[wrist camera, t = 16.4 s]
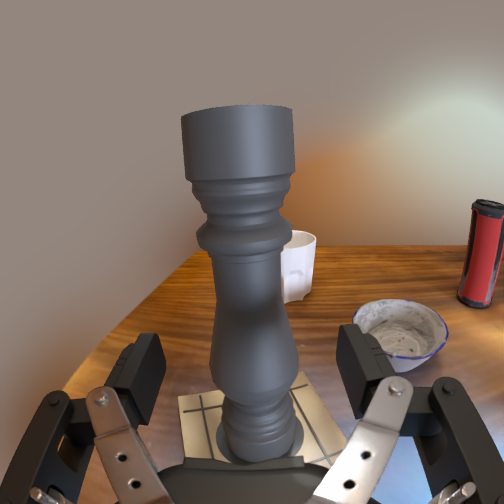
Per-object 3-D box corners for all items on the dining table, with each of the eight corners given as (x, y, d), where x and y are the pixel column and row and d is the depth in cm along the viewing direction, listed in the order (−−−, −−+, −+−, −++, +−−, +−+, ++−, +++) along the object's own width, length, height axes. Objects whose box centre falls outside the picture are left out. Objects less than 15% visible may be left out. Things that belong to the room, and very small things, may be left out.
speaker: (451, 288, 45) (466, 196, 39) (482, 290, 43) (498, 200, 37) (462, 309, 39) (482, 205, 32) (495, 309, 36) (517, 210, 30)
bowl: (447, 384, 25) (461, 353, 23) (347, 386, 29) (353, 355, 27) (427, 324, 37) (434, 297, 35) (348, 323, 40) (351, 295, 39)
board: (199, 517, 15) (195, 513, 14) (180, 404, 28) (177, 395, 27) (359, 472, 18) (364, 465, 17) (301, 379, 31) (302, 369, 30)
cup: (247, 297, 50) (243, 243, 47) (275, 275, 58) (274, 227, 54) (300, 311, 45) (300, 252, 41) (322, 285, 52) (324, 234, 49)
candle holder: (288, 407, 25) (285, 118, 16) (300, 457, 19) (312, 103, 11) (225, 413, 25) (185, 124, 16) (226, 465, 19) (162, 112, 10)
